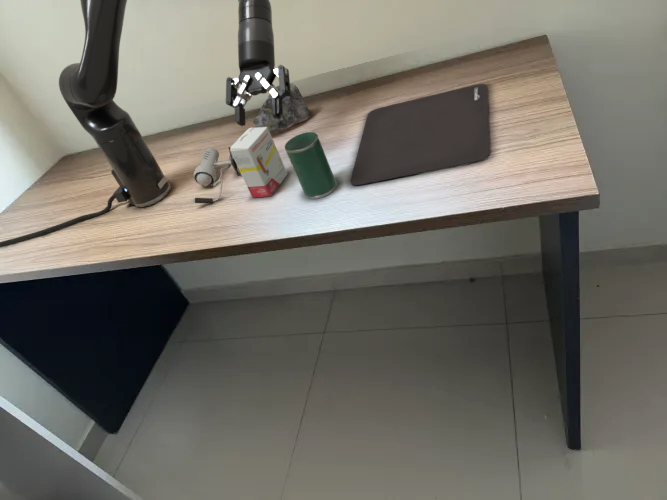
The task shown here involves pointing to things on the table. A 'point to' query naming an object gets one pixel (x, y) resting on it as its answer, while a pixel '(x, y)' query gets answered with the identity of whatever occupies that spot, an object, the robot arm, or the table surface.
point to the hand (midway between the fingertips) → (258, 121)
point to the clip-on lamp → (211, 171)
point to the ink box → (259, 161)
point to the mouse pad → (424, 135)
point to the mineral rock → (291, 114)
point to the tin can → (311, 165)
